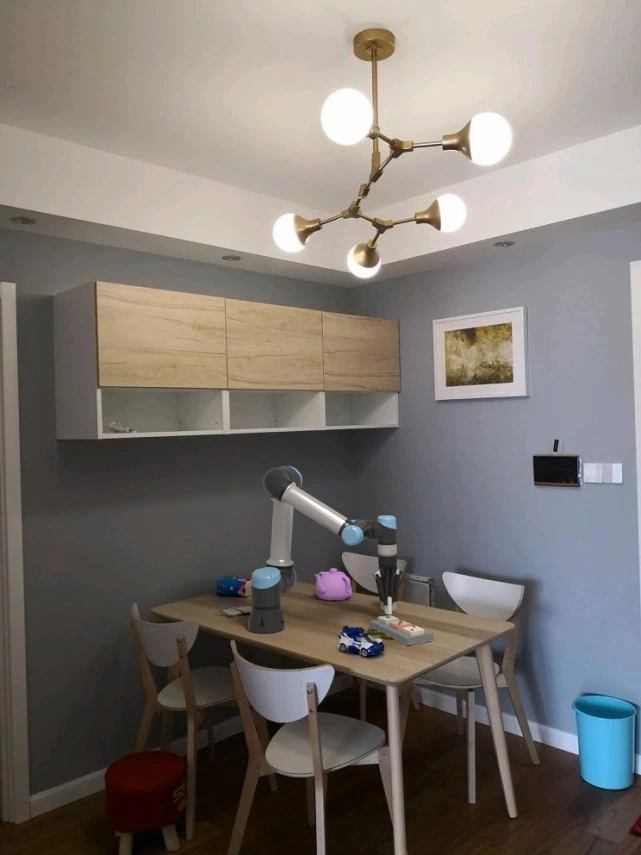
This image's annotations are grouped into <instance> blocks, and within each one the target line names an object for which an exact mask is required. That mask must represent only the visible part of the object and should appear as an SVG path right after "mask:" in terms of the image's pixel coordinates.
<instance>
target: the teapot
mask: <svg viewBox="0 0 641 855" xmlns="http://www.w3.org/2000/svg"><path fill="white" fill-rule="evenodd" d="M313 576H314V577H315V594H316V596H318V598H319V599H321V600H325V601H332V600H337V601H342V600H346V599H348V598H350V597H351V596H352V592H353V589H352V584H351V579H350V577H348V576H347V575H346V574H345V573H344V572H343V571H338V568H334V567H332V568H329V571H320V572H318V573H317V574H315V573H313Z"/></svg>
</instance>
